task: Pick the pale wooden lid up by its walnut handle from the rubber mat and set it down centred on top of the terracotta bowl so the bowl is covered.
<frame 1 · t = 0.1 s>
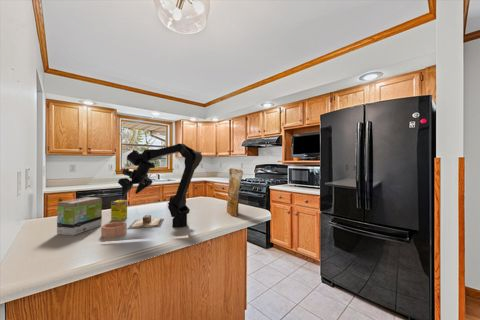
hand: (129, 194, 116), 15 cm above the countertop, tool tilted 30°, fingers open, 9 cm apart
tea box: (80, 230, 104), on the countertop
mat: (147, 225, 110), on the countertop
supplement box: (119, 220, 119), on the countertop
lid: (147, 223, 110), point 1 cm above the countertop, touching mat
bowl: (114, 236, 95), on the countertop
pancake mix bag: (233, 213, 135), on the countertop
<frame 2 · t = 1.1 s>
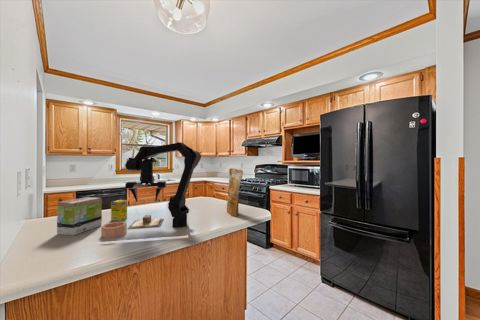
hand: (146, 201, 110), 12 cm above the countertop, tool pointing down, fingers open, 9 cm apart
nothing on the countertop moved.
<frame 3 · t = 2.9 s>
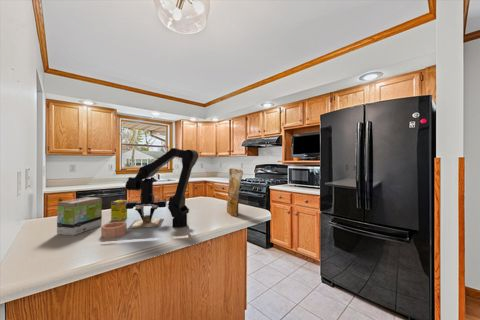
hand: (147, 221, 110), 2 cm above the countertop, tool pointing down, fingers closed on lid, 3 cm apart
lid: (147, 223, 110), point 1 cm above the countertop, touching gripper, mat
everything else where it was.
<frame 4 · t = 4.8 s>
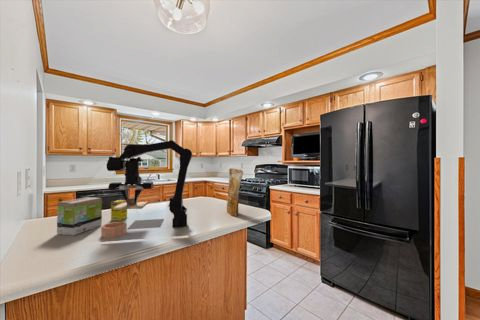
hand: (131, 203, 103), 13 cm above the countertop, tool pointing down, fingers closed on lid, 3 cm apart
lid: (131, 206, 103), point 12 cm above the countertop, touching gripper
everything else where it was.
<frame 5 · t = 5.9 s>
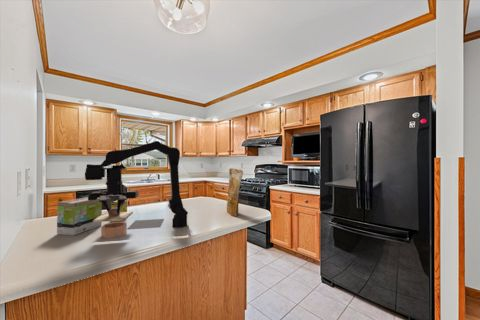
hand: (114, 214, 95), 10 cm above the countertop, tool pointing down, fingers closed on lid, 3 cm apart
lid: (114, 217, 95), point 8 cm above the countertop, touching gripper
everything else where it was.
when the fingers open (8 cm above the countertop, at t = 6.9 s): lid drops 1 cm, resting on bowl.
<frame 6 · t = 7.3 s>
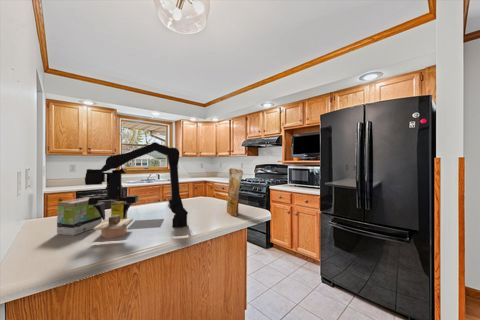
hand: (114, 219, 95), 8 cm above the countertop, tool pointing down, fingers open, 8 cm apart
lid: (114, 224, 95), point 5 cm above the countertop, touching bowl
everything else where it was.
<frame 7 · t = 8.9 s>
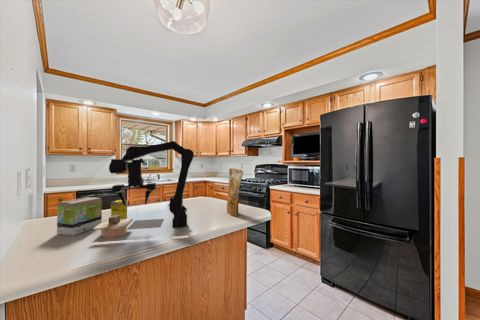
hand: (135, 205, 103), 12 cm above the countertop, tool pointing down, fingers open, 9 cm apart
nothing on the countertop moved.
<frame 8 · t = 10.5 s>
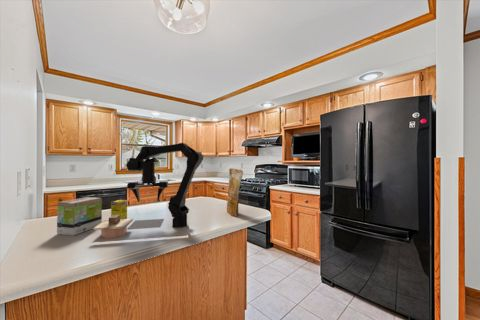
hand: (148, 201, 109), 13 cm above the countertop, tool pointing down, fingers open, 9 cm apart
nothing on the countertop moved.
at the end: lid 0.1 cm off-centre on the bowl, point 5.0 cm above the bowl's base; lid tilted 0°; the gripper is holding nothing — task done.
